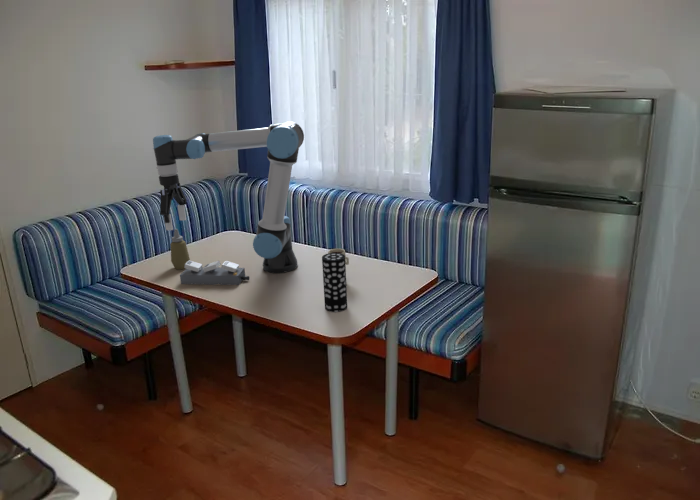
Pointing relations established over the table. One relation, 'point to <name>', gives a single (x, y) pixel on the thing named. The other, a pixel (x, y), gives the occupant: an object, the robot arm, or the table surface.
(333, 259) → the spotted tube
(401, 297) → the table surface
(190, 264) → the plate
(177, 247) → the squeeze bottle
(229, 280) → the switch strip
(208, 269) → the block
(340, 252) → the character mug
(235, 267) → the plate
